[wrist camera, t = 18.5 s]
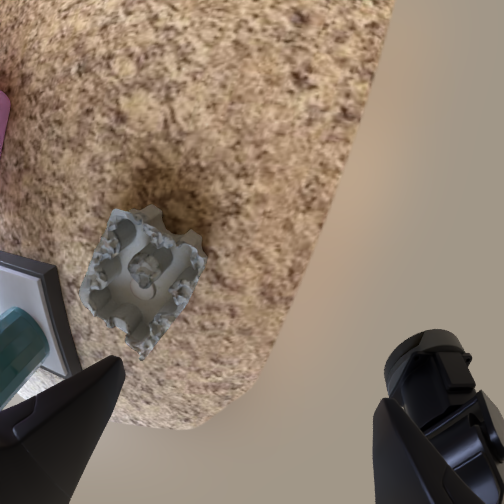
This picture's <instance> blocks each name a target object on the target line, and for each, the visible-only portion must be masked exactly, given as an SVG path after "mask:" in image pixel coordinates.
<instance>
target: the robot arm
mask: <svg viewBox="0 0 504 504" xmlns="http://www.w3.org/2000/svg"><path fill="white" fill-rule="evenodd" d="M416 356H418V357H416ZM415 357H416V358H415ZM471 361H472V356H471V355H470V353H455V352H431V351H415V352H413V353H412V354H411V355H410V357H409V360H408V362H407V364H406V366H405V368H404V370H403V372H402V374H401V376H400V378H399V379H398V381H397V383H396V385H395V387H394V389H393V391H392V393H391V394H390V396H389V398H383V399H382V400H381V401H380V403H379V405H378V407H377V409H376V411H375V413H374V416H373V469H374V482H375V500H376V501H375V502H376V504H504V419H503V417H502V415H501V413H500V412H499V410H498V408H497V407H496V406H495V404H494V403H493V402H492V401H491V400H490V399H489V398H488V397H487V396H486V394H485V393H484V392H483V391H482V390H480V391H479V392H477V393H476V391H475V389H474V388H475V386H476V384H475V381H474V379H473V377H472V375H471V373H470V371H469V369H468V366H469V364H470V362H471ZM125 376H126V374H125V370H124V366H123V361H122V359H121V358H120V357H117V356H113V355H110V356H108V357H106V358H104V359H102V360H101V361H99V362H97V363H95V364H93V365H91V366H89V367H88V368H86V369H84V370H82V371H80V372H78V373H77V374H75V375H73V376H71V377H69V378H67V379H65V380H63V381H62V382H60V383H58V384H56V385H54V386H52V387H50V388H48V389H47V390H45V391H43V392H41V393H39V394H37V395H36V396H33V397H31V398H29V399H27V400H25V401H23V402H21V403H19V404H17V405H15V406H12V407H10V408H7V409H5V410H2V411H0V504H69V502H70V498H71V497H72V495H73V493H74V491H75V489H76V486H77V484H78V482H79V480H80V478H81V476H82V474H83V472H84V469H85V467H86V465H87V463H88V461H89V459H90V457H91V455H92V453H93V451H94V449H95V447H96V445H97V443H98V441H99V439H100V437H101V435H102V433H103V431H104V429H105V427H106V425H107V423H108V421H109V419H110V417H111V415H112V413H113V410H114V407H115V405H116V402H117V399H118V397H119V394H120V391H121V389H122V386H123V383H124V381H125ZM401 406H403V408H404V409H403V408H402V407H401Z"/></svg>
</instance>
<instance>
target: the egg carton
mask: <svg viewBox="0 0 504 504" xmlns="http://www.w3.org/2000/svg"><path fill="white" fill-rule="evenodd" d="M201 244H202V237H201V236H200V235H199V234H197V233H196V232H194V231H193V230H192V229H190V230H189V231H188V232H187V233H186V234H183V235H175V234H172V233H170V231H168V230H166V228H165V226H164V223H163V221H162V211H161V210H160V209H159V208H157V207H156V206H154V205H152V204H150V205H149V206H147V207H145V208H143V209H142V210H136V209H131V210H129V211H123V210H119V209H114V210H113V211H112V213H111V216H110V218H109V221H108V223H107V228H106V230H105V232H104V234H103V235H102V236H101V241H100V242H99V244H98V245H97V247H96V248H95V250H94V254H93V257H92V260H91V262H90V264H89V267H88V271H87V273H86V275H85V277H84V280H83V282H82V284H81V287H80V290H79V296H80V299H81V301H82V303H83V305H84V306H85V307H86V308H88V309H89V310H90V311H91V312H92V314H93V316H94V317H96V316H98V317H99V318H101V319H102V320H104V321H105V322H106V324H107V325H106V326H107V327H109V328H113V327H115V326H117V327H118V328H119V329H121V330H122V331H124V332H125V333H127V335H126V338H125V342H126V344H127V345H128V346H129V347H130V348H132V349H133V350H135V351H137V352H138V354H140V358H139V359H140V361H142V360H144V359H145V358H146V357H147V355H148V354H149V353H150V351H151V350H152V349H153V347H154V346H155V345H156V344H157V342H158V341H159V339H160V338H161V337H162V336H163V335H164V333H165V332H166V331H167V330H168V328H169V327H170V326H171V324H172V323H173V322H174V320H175V319H176V318H177V316H178V315H179V314H180V313H181V312H182V310H183V309H184V308H185V306H186V305H187V303H188V301H189V299H190V297H191V295H192V293H193V291H194V289H195V287H196V285H197V282H198V279H199V277H200V275H201V273H202V272H203V270H204V268H205V266H204V265H205V264H206V263H207V258H208V257H207V256H206V254H205V253H204V252H203V249H202V245H201Z"/></svg>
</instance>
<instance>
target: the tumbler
mask: <svg viewBox="0 0 504 504" xmlns="http://www.w3.org/2000/svg"><path fill="white" fill-rule="evenodd" d="M49 354H50V348H49V343H48V341H47V338H46V336H45V334H44V332H43V331H42V329H41V328H40V326H39V325H38V323H37V322H36V321H35V320H34V319H33V318H32V317H31V316H30V315H29V314H28V313H27V312H26V311H24V310H23V309H21V308H19V307H16V306H13V307H10V308H9V309H8V310H6V311H5V312H4V313H2V314H1V315H0V411H2V409H3V408H4V407H5V406H6V405H7V403H8V402H9V401H10V400H11V399H12V398H13V397H14V395H15V394H16V393H17V392H18V391H19V390H20V388H21V387H22V386H23V385H24V384H25V383H26V382H27V380H28V379H29V378H30V377H31V376H32V375H33V374H34V373H35V372H36V370H37V369H38V368H39V367H40V366H41V365H42V364H43V363H44V362H45V360H46V359H47V358H48V356H49Z"/></svg>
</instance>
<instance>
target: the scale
mask: <svg viewBox="0 0 504 504" xmlns="http://www.w3.org/2000/svg"><path fill="white" fill-rule="evenodd" d="M13 306H16V307H19V308H21V309H23V310H24V311H26V312H27V313H28V314H29V315H30V316H31V317H32V318H33V319H34V320H35V321H36V322H37V323H38V325H39V326H40V328H41V329H42V331H43V332H44V334H45V336H46V338H47V341H48V343H49V348H50V354H49V356H48V358H47V359H46V360H45V362H44V363H43V364H42V365H41V366H40V368H42V369H44V370H46V371H49V372H51V373H53V374H55V375H57V376H59V377H61V378H64V379H67V378H69V377H71V376H73V375H75V374H77V373H78V372H80V371H82V369H81V366H80V362H79V359H78V356H77V353H76V349H75V346H74V342H73V339H72V335H71V331H70V328H69V324H68V320H67V316H66V312H65V307H64V303H63V299H62V294H61V289H60V284H59V279H58V274H57V268H56V266H55V265H51V264H47V263H44V262H40V261H36V260H32V259H29V258H25V257H21V256H18V255H14V254H10V253H7V252H3V251H0V315H1V314H2V313H4V312H5V311H6V310H8V309H9V308H10V307H13Z"/></svg>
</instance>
